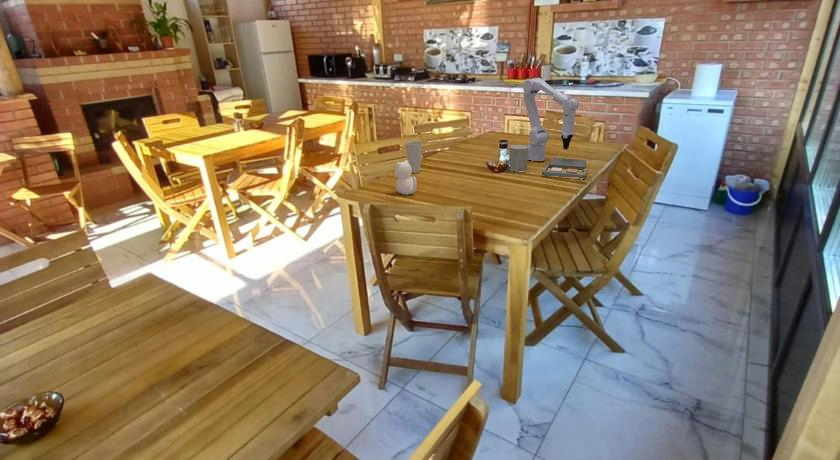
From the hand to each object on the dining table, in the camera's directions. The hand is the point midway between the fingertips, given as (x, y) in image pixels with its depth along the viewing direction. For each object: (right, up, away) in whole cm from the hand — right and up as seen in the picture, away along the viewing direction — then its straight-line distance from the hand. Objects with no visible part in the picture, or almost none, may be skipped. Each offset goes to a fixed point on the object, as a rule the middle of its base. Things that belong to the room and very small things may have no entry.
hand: (565, 149), depth 236 cm
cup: (-80, -12, +3) cm, 81 cm away
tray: (-4, -15, -10) cm, 18 cm away
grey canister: (-25, -11, 0) cm, 27 cm away
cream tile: (-8, -12, -9) cm, 17 cm away
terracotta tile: (-1, -13, -12) cm, 18 cm away
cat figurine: (-83, -26, -28) cm, 91 cm away
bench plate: (+1, -10, +1) cm, 10 cm away
